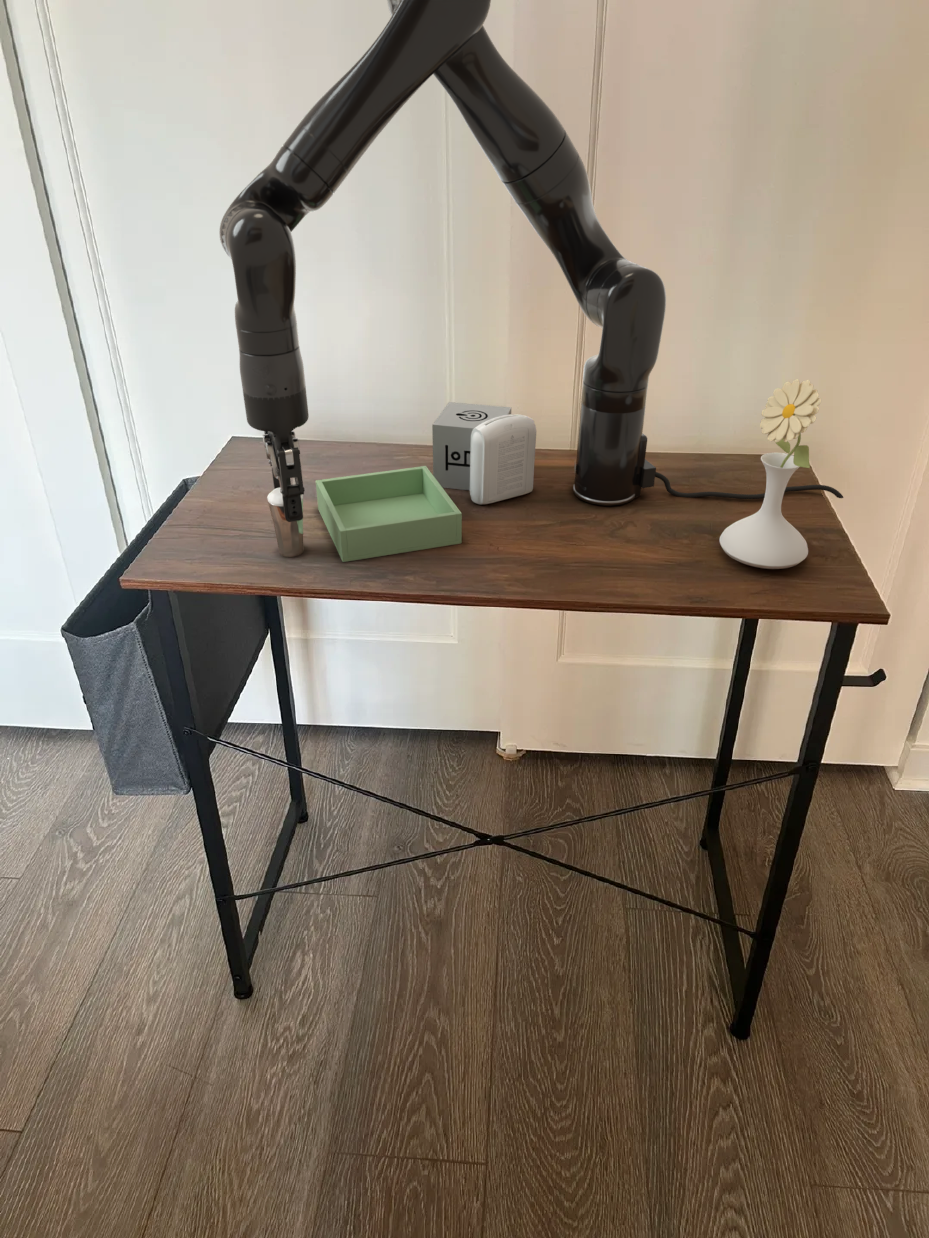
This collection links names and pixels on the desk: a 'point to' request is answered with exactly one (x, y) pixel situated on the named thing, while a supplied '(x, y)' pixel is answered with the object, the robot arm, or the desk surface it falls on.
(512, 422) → the photo printer
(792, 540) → the flower in vase
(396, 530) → the tote
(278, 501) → the milkshake
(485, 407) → the icon cube
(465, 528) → the desk surface
